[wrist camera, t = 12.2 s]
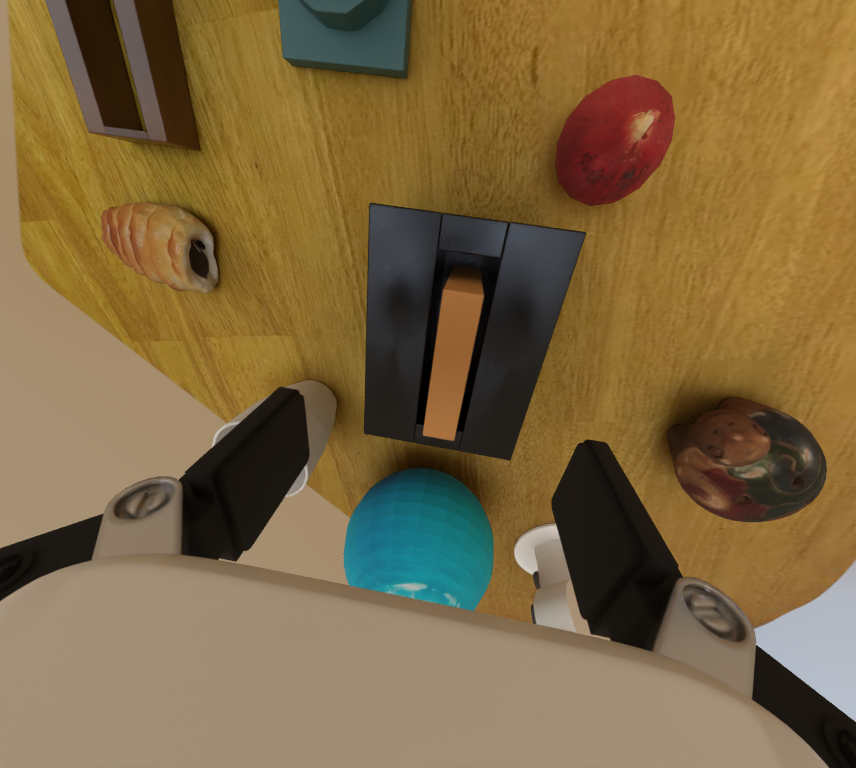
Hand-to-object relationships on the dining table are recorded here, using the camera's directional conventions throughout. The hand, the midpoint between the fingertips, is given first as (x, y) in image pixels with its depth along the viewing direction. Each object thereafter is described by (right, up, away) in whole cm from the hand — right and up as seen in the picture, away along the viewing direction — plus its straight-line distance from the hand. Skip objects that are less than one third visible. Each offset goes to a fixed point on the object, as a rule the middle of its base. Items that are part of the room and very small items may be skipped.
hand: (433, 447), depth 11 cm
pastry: (-23, +15, +17) cm, 32 cm away
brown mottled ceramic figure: (+27, -3, +19) cm, 33 cm away
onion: (+11, +18, +11) cm, 23 cm away
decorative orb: (0, -11, +27) cm, 29 cm away
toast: (+2, +7, +15) cm, 17 cm away
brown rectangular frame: (-20, +26, +11) cm, 35 cm away
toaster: (+3, +8, +17) cm, 19 cm away
